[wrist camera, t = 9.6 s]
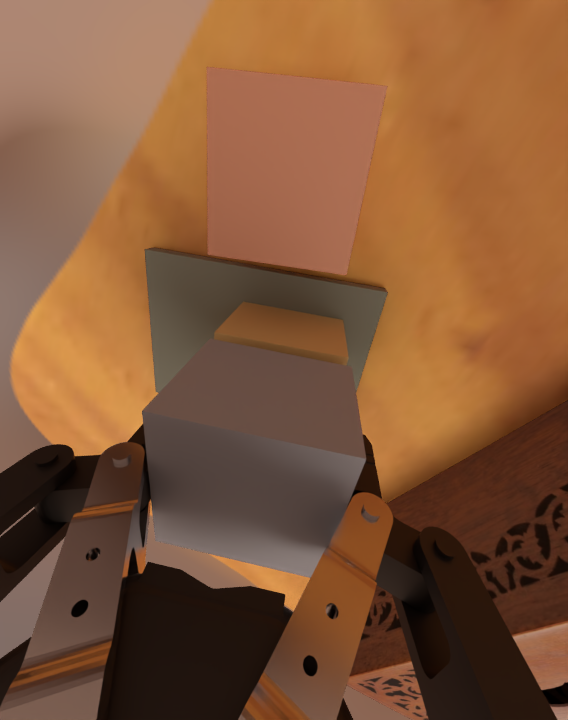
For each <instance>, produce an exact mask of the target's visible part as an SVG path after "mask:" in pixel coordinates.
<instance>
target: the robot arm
mask: <svg viewBox="0 0 568 720" xmlns="http://www.w3.org/2000/svg"><path fill="white" fill-rule="evenodd" d="M363 441H364V447H365V454H366V461H365V464H364V466H363V469H362V471H361V474H360V476H359V479H358V481H357V484H356V486H355V489H354V491H353V493H352V496H351V498H350V501H349V503H348V506H347V508H346V511H345V513H344V515H343V517H342V519H341V521H340V523H339V525H338V527H337V529H336V531H335V533H334V535H333V537H332V539H331V541H330V543H329V545H328V546H327V547H326V549H325V550H324V552H323V554H322V556H321V558H320V560H319V562H318V564H317V566H316V568H315V570H314V572H313V574H312V576H311V578H310V580H309V582H308V584H307V586H306V588H305V590H304V592H303V594H302V596H301V598H300V600H299V602H298V604H297V606H296V608H295V610H294V612H292V611H291V610H289V609H288V608H286V607H284V601H285V594H282V593H277V592H273V591H269V590H265V589H261V588H256V587H252V586H247V587H234V588H220V589H213V588H210V587H208V586H206V585H205V584H203V583H202V582H200V581H198V580H197V579H195V578H194V577H192V576H190V575H189V574H187V573H186V572H184V571H182V570H180V569H175V568H172V567H167V566H163V565H159V564H155V563H151V562H148V563H147V565H146V567H145V556H146V544H147V535H148V525H149V515H150V505H151V503H150V500H151V493H150V483H149V474H148V464H147V454H146V445H145V435H144V425H143V424H142V426H141V427H140V428H139V429H138V430H137V431H136V432H135V434H134V435H133V436H132V437H131V438H130V439H129V440H128V442H123V443H119V444H116V445H113V446H111V447H110V448H108V449H107V450H105V451H104V452H103V453H102V454H101V455H92V456H74V452H73V450H72V448H70V447H69V446H66V445H61V444H56V445H50V446H45V447H42V448H40V449H38V450H35V451H34V452H32V453H30V454H29V455H27V456H26V457H24V458H23V459H22V460H20V461H18V462H17V463H15V464H14V465H12V466H11V467H9V468H8V469H6V470H5V471H3V472H2V473H0V535H1V534H2V533H3V532H4V531H5V530H6V529H8V528H9V527H10V526H11V525H12V524H14V523H15V522H16V521H17V520H18V519H20V518H21V517H22V516H23V515H24V514H26V513H27V512H28V511H29V510H30V509H32V508H33V507H35V509H34V510H32V511H31V512H30V513H29V514H28V515H26V516H25V517H24V518H23V519H22V520H20V521H19V522H18V523H17V524H16V525H15V526H13V527H12V528H11V529H10V530H9V531H7V532H6V533H5V534H4V535H2V536H1V537H0V602H1V601H2V600H3V599H4V598H5V597H6V596H7V595H8V593H10V591H11V590H13V588H14V587H16V585H17V584H18V583H20V582H21V581H22V579H24V578H25V577H26V576H27V575H28V573H29V572H30V571H31V570H32V569H33V568H34V567H35V566H36V565H37V564H38V563H39V562H40V561H41V560H42V559H43V558H44V557H45V556H46V555H47V554H48V553H49V552H50V551H51V550H52V549H53V548H54V547H55V546H56V545H57V544H58V543H59V542H60V541H61V540H62V539H63V538H64V537H65V539H64V542H63V545H62V548H61V552H60V554H59V557H58V560H57V563H56V566H55V569H54V572H53V575H52V578H51V581H50V584H49V587H48V590H47V593H46V596H45V599H44V602H43V605H42V608H41V611H40V614H39V617H38V620H37V622H36V626H35V628H34V631H33V634H32V637H30V638H29V639H28V640H26V641H25V642H23V643H22V644H20V645H19V646H18V647H16V648H15V649H13V650H12V651H11V652H9V653H8V654H6V655H5V656H4V657H2V658H1V659H0V720H353V718H352V716H351V714H350V712H349V709H348V707H347V705H346V703H345V701H344V698H343V696H344V693H345V689H346V686H347V683H348V680H349V676H350V673H351V670H352V666H353V663H354V660H355V656H356V653H357V650H358V646H359V643H360V640H361V636H362V633H363V630H364V626H365V623H366V620H367V616H368V613H369V610H370V606H371V603H372V600H373V596H374V593H375V589H376V585H377V586H379V587H381V588H382V589H384V590H386V591H387V592H389V593H390V594H392V596H393V600H394V603H395V607H396V610H397V613H398V617H399V620H400V624H401V627H402V631H403V634H404V637H405V641H406V644H407V648H408V651H409V654H410V658H411V661H412V665H413V668H414V671H415V675H416V678H417V682H418V685H419V688H420V692H421V695H422V699H423V702H424V705H425V709H426V712H427V716H428V719H429V720H558V719H557V718H556V716H555V714H554V712H553V710H552V708H551V707H550V705H549V703H548V701H547V699H546V697H545V695H544V694H543V692H542V690H541V688H540V686H539V684H538V683H537V681H536V679H535V677H534V675H533V673H532V672H531V670H530V668H529V666H528V664H527V662H526V661H525V659H524V657H523V655H522V653H521V651H520V650H519V648H518V646H517V644H516V642H515V640H514V639H513V637H512V635H511V633H510V631H509V629H508V628H507V626H506V624H505V622H504V620H503V618H502V616H501V615H500V613H499V611H498V609H497V607H496V605H495V604H494V602H493V600H492V598H491V596H490V594H489V593H488V591H487V589H486V587H485V585H484V583H483V582H482V580H481V578H480V576H479V574H478V572H477V571H476V569H475V567H474V565H473V563H472V561H471V560H470V558H469V556H468V554H467V552H466V550H465V549H464V547H463V546H462V544H461V543H460V542H459V541H458V540H457V539H456V538H455V537H454V536H453V535H451V534H450V533H449V532H447V531H445V530H443V529H441V528H438V527H433V526H432V527H426V528H424V529H423V530H422V531H421V532H420V531H418V530H416V529H414V528H412V527H410V526H408V525H406V524H404V523H403V522H401V521H399V520H398V519H396V518H395V517H394V516H393V515H392V512H391V510H390V508H389V507H388V505H387V504H386V503H385V502H384V501H383V500H382V497H381V491H380V486H379V481H378V475H377V470H376V466H375V460H374V457H373V456H374V454H373V449H372V445H371V443H370V442H369V440H368V439H367V437H366V436H365V435H363Z"/></svg>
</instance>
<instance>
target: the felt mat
mask: <svg viewBox="0 0 568 720" xmlns="http://www.w3.org/2000/svg"><path fill="white" fill-rule="evenodd" d="M145 260H146V273H147V285H148V298H149V311H150V324H151V336H152V349H153V362H154V375H155V387H156V392H158V393H159V392H160V391H161V390H162V389H163V388H164V387H165V386H166V385H167V384H168V383H169V382H170V381H171V380H172V379H173V378H174V376H175V375H176V374H177V373H178V372H179V371H180V370H181V369H182V368H183V367H184V366H185V365H186V364H187V363H188V362H189V360H190V359H191V358H192V357H193V356H194V355H195V354H196V353H197V352H198V351H199V350H200V349H201V348H202V347H203V346H204V344H205V343H206V342H207V341H208V340H209V339H214V332H215V331H216V330H217V329H218V328H219V327H220V326H221V325H222V324H223V323H224V322H225V320H226V319H227V318H228V317H229V316H230V315H231V314H232V313H233V312H234V311H235V310H236V309H237V308H238V307H239V306H240V305H241V304H242V303H243V302H248V303H254V304H259V305H265V306H270V307H275V308H281V309H286V310H292V311H297V312H303V313H308V314H314V315H319V316H324V317H330V318H335V319H341V320H343V323H344V330H345V337H346V343H347V350H348V357H349V358H348V362H347V365H346V366H351V367H352V371H353V377H354V384H355V390H356V391H357V388H358V385H359V381H360V378H361V375H362V372H363V369H364V366H365V363H366V359H367V356H368V353H369V350H370V347H371V344H372V341H373V337H374V334H375V331H376V328H377V325H378V322H379V319H380V315H381V312H382V309H383V306H384V303H385V300H386V297H387V293H388V292H387V291H386V289H385V288H380V287H375V286H369V285H363V284H358V283H352V282H346V281H341V280H335V279H329V278H324V277H318V276H312V275H307V274H301V273H295V272H290V271H284V270H278V269H273V268H267V267H261V266H256V265H250V264H244V263H239V262H233V261H227V260H222V259H216V258H210V257H205V256H199V255H193V254H188V253H182V252H176V251H171V250H165V249H159V248H149V249H145Z"/></svg>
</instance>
